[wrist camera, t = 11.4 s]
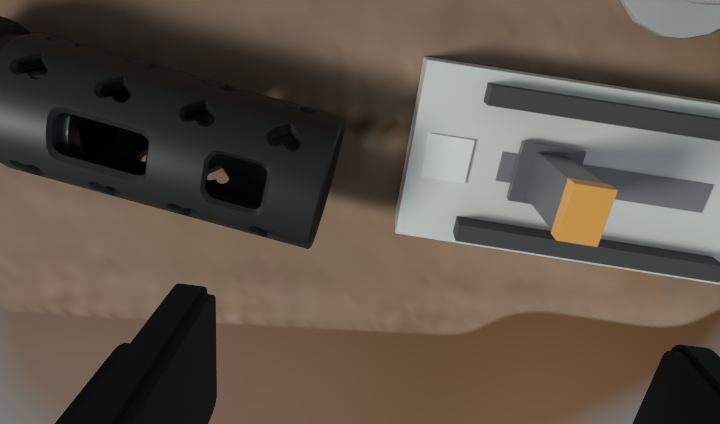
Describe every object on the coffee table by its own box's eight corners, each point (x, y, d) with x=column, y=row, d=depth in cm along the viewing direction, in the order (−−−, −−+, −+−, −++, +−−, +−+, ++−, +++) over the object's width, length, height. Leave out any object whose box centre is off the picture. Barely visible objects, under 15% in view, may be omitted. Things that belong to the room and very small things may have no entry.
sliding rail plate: (487, 82, 30) (492, 85, 29) (772, 126, 30) (791, 131, 29) (453, 231, 34) (455, 240, 33) (705, 271, 34) (719, 282, 32)
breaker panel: (423, 56, 34) (427, 59, 30) (792, 113, 33) (845, 124, 30) (395, 213, 38) (395, 234, 34) (721, 264, 38) (758, 291, 34)
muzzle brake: (323, 217, 39) (299, 279, 29) (-19, 123, 38) (-160, 155, 28) (353, 102, 35) (337, 130, 26) (-23, -4, 35) (-184, -17, 25)
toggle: (521, 140, 31) (559, 173, 24) (583, 149, 31) (638, 185, 24) (506, 197, 33) (537, 244, 26) (564, 206, 33) (612, 256, 25)
